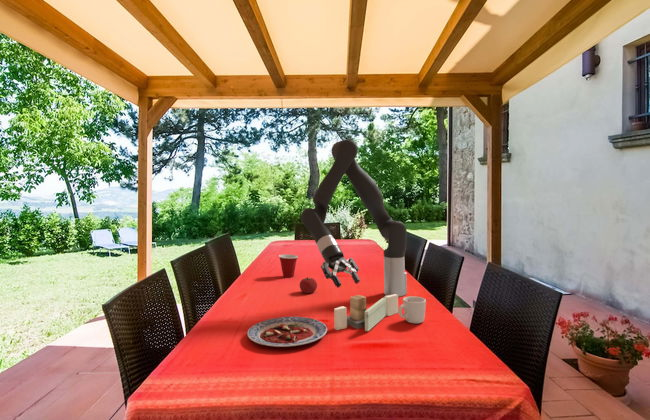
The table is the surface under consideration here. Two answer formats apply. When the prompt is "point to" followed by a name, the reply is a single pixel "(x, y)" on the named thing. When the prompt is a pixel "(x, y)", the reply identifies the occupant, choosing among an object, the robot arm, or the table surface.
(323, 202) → the robot arm
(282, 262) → the plastic cup
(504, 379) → the table surface
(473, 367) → the table surface
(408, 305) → the cup
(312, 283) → the tomato
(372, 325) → the gate
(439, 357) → the table surface
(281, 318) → the ceramic plate
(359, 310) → the wooden block on base
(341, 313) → the wooden blocks
